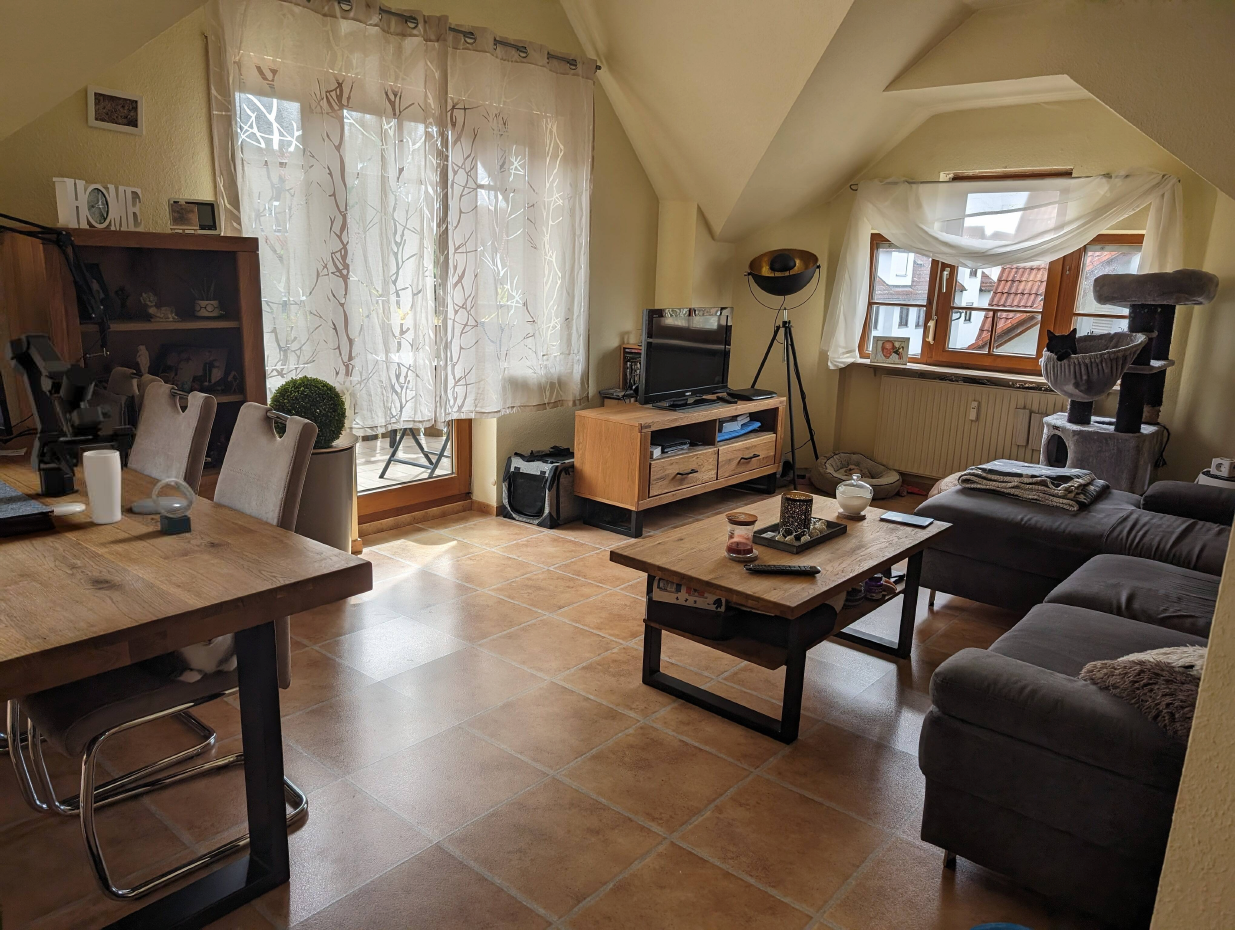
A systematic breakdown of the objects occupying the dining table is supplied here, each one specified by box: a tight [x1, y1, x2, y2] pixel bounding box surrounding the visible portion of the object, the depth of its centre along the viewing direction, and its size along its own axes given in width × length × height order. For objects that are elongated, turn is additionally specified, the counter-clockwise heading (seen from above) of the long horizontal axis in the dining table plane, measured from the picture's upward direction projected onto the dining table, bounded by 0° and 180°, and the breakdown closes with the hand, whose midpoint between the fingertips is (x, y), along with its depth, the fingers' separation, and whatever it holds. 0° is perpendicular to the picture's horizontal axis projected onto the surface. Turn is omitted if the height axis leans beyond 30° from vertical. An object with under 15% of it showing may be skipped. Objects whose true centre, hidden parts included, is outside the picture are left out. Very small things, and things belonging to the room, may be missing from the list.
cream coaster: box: [46, 502, 87, 516], centre depth 192 cm, size 8×8×1 cm
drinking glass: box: [82, 449, 122, 525], centre depth 184 cm, size 7×7×15 cm
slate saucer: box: [131, 496, 188, 515], centre depth 197 cm, size 11×11×1 cm
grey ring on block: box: [151, 477, 196, 536], centre depth 179 cm, size 6×8×11 cm
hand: (98, 473), depth 185 cm, fingers open, 9 cm apart
